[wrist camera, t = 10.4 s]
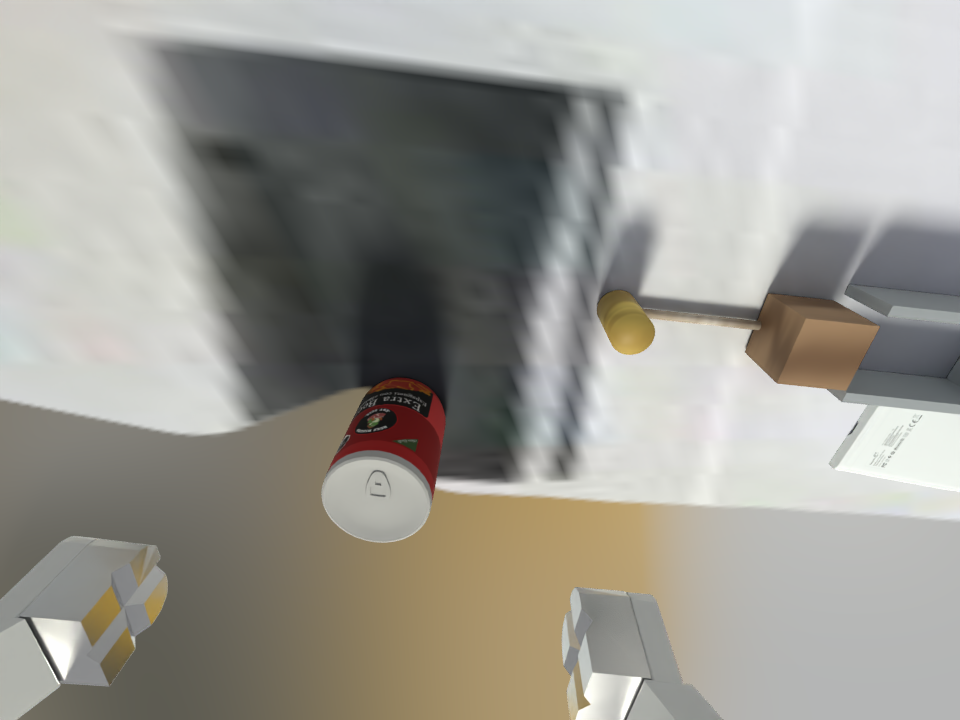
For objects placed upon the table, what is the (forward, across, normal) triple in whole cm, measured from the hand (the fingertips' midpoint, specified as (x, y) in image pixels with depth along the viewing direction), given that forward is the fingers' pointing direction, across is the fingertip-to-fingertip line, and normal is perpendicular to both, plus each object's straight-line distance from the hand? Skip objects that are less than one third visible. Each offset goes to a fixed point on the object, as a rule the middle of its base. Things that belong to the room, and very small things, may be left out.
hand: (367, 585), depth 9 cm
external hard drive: (+30, -41, +13) cm, 53 cm away
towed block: (+29, -19, +4) cm, 35 cm away
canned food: (+29, +4, +16) cm, 34 cm away
